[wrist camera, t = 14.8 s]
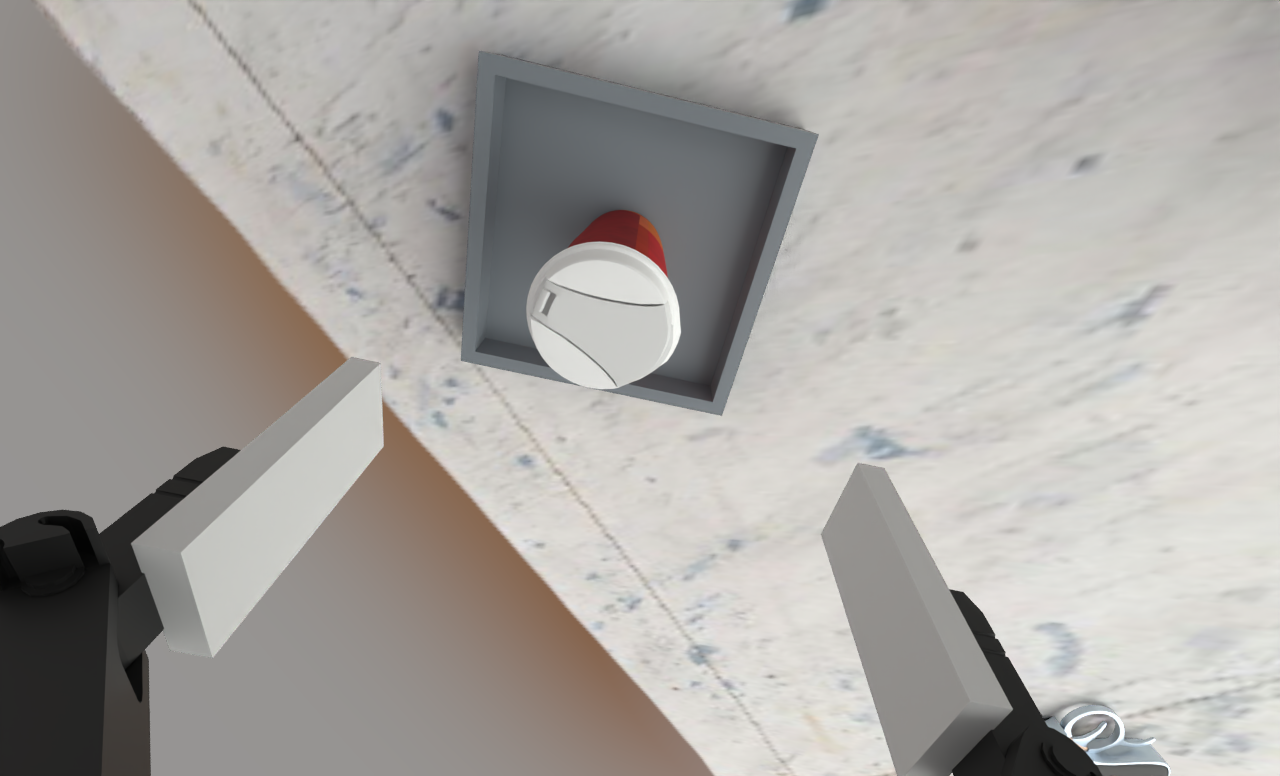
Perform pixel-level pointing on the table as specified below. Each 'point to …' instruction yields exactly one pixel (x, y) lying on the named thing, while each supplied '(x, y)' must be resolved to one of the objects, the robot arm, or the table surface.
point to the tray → (624, 180)
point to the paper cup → (606, 304)
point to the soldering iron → (1113, 746)
